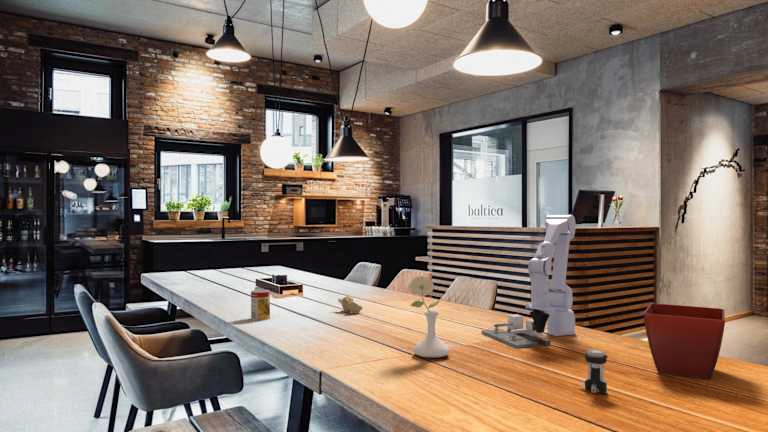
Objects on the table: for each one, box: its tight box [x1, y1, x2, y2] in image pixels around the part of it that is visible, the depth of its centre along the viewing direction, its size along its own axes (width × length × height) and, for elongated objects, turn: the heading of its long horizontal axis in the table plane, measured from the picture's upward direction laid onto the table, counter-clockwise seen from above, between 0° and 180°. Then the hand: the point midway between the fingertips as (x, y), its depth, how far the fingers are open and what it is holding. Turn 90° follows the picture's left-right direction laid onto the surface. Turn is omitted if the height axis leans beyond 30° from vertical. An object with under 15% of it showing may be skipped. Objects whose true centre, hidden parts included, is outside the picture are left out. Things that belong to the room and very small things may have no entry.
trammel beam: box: [506, 326, 552, 346], centre depth 192 cm, size 2×24×2 cm, turn 18°
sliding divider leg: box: [510, 318, 543, 337], centre depth 187 cm, size 11×4×5 cm, turn 108°
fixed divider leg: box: [492, 313, 524, 331], centre depth 199 cm, size 11×4×5 cm, turn 108°
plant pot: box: [643, 302, 726, 380], centre depth 150 cm, size 19×19×17 cm
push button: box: [579, 349, 608, 396], centre depth 133 cm, size 7×5×10 cm
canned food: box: [250, 289, 271, 322], centre depth 231 cm, size 8×8×12 cm
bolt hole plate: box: [481, 328, 539, 349], centre depth 190 cm, size 8×24×1 cm, turn 18°
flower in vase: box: [408, 275, 451, 359], centre depth 168 cm, size 13×11×25 cm
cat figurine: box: [337, 295, 364, 314], centre depth 246 cm, size 8×7×12 cm
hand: (540, 332), depth 185 cm, fingers closed
